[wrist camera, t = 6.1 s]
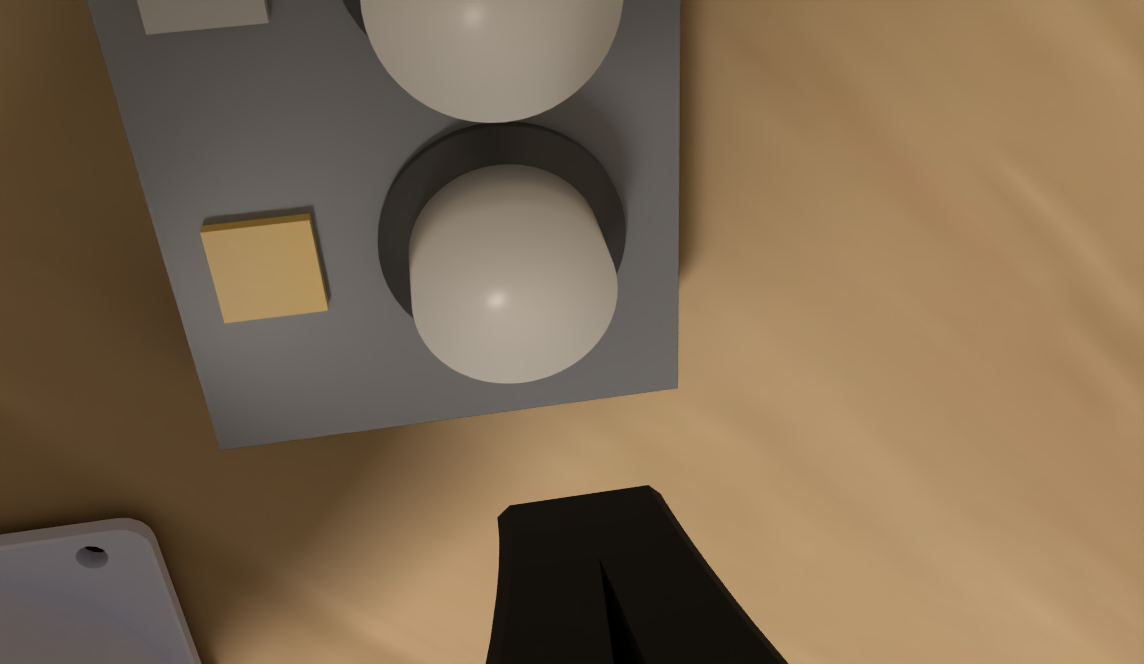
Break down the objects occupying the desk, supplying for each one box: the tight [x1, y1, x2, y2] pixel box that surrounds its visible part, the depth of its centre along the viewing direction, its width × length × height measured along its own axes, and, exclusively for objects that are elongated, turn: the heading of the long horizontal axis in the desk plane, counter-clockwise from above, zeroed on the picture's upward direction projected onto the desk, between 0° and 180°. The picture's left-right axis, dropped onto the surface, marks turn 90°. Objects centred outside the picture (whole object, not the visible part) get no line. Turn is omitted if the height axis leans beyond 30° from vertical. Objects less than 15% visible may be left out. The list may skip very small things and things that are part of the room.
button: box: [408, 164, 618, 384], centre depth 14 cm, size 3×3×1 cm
